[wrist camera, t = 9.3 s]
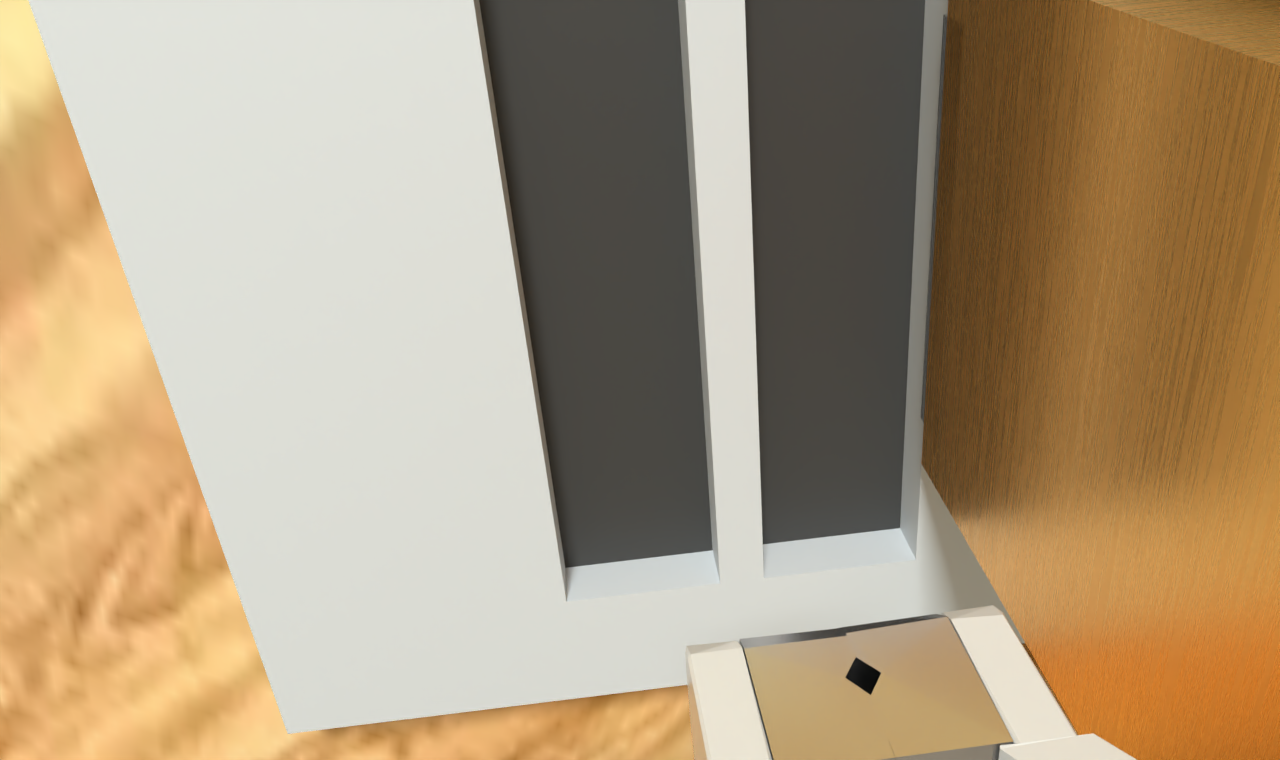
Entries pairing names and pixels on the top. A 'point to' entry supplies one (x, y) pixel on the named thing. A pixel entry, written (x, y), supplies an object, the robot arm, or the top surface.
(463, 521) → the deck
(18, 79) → the top surface
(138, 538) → the top surface
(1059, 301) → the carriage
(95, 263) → the top surface
